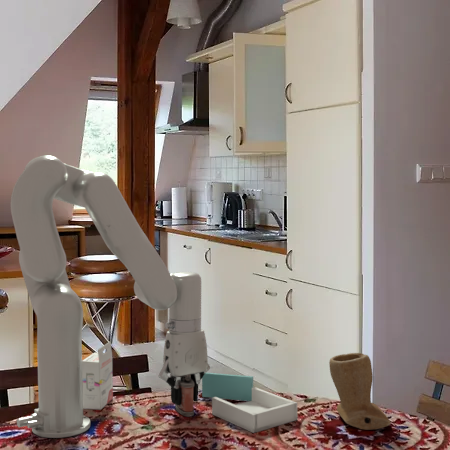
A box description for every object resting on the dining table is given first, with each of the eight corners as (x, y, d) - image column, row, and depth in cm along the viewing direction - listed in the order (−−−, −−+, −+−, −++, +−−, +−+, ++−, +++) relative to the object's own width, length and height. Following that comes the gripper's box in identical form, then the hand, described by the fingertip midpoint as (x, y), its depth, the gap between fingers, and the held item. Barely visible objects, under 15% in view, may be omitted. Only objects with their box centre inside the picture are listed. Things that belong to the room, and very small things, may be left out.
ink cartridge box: (94, 397, 174) (93, 340, 173) (113, 398, 173) (112, 340, 172) (81, 408, 166) (80, 348, 165) (100, 410, 165) (99, 349, 164)
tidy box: (253, 433, 150) (253, 414, 149) (212, 414, 162) (212, 397, 161) (297, 419, 158) (297, 402, 157) (254, 402, 169) (254, 386, 169)
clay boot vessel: (325, 409, 165) (325, 347, 164) (374, 408, 165) (375, 346, 164) (336, 433, 150) (337, 365, 148) (391, 432, 150) (392, 364, 149)
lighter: (196, 415, 160) (197, 372, 160) (183, 417, 159) (183, 374, 159) (185, 404, 168) (186, 364, 167) (172, 406, 167) (172, 365, 166)
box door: (202, 396, 173) (202, 373, 173) (203, 395, 174) (203, 372, 174) (252, 401, 170) (252, 377, 169) (253, 400, 170) (253, 376, 170)
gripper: (163, 332, 154) (163, 413, 155) (223, 323, 164) (222, 399, 166) (146, 326, 160) (145, 404, 161) (204, 318, 170) (204, 391, 171)
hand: (184, 400), depth 163 cm, fingers closed on lighter, 4 cm apart
